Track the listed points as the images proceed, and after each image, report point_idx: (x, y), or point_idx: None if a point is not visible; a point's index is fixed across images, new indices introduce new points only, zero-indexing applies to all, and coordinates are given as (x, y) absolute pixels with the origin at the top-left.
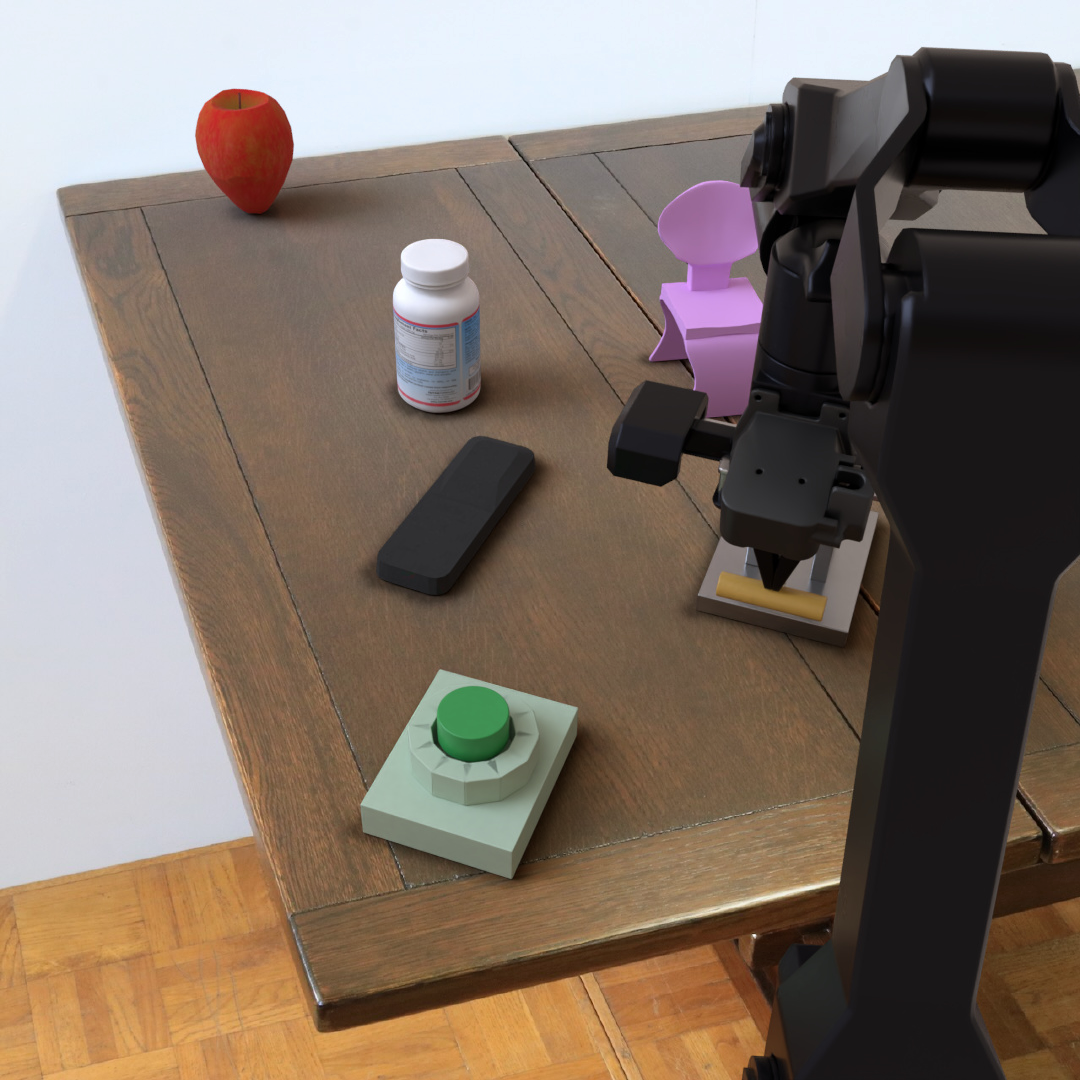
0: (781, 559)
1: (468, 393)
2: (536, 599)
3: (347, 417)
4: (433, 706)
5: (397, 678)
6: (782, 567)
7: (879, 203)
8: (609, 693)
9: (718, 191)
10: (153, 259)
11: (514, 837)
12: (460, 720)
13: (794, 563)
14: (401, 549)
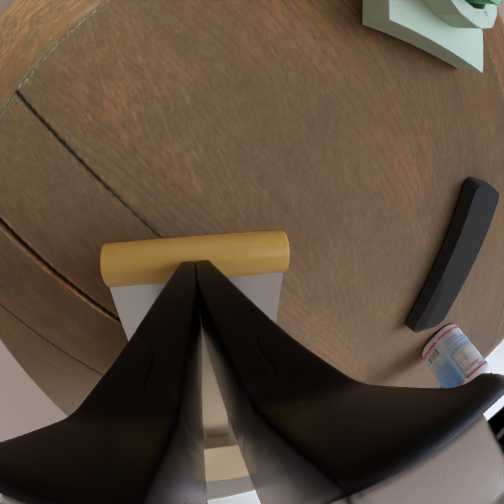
0: (186, 315)
1: (434, 346)
2: (415, 197)
3: (476, 300)
4: (491, 6)
5: (477, 87)
6: (181, 299)
7: None
8: (345, 86)
9: None
10: (498, 330)
11: None
12: None
13: (152, 315)
14: (490, 207)
